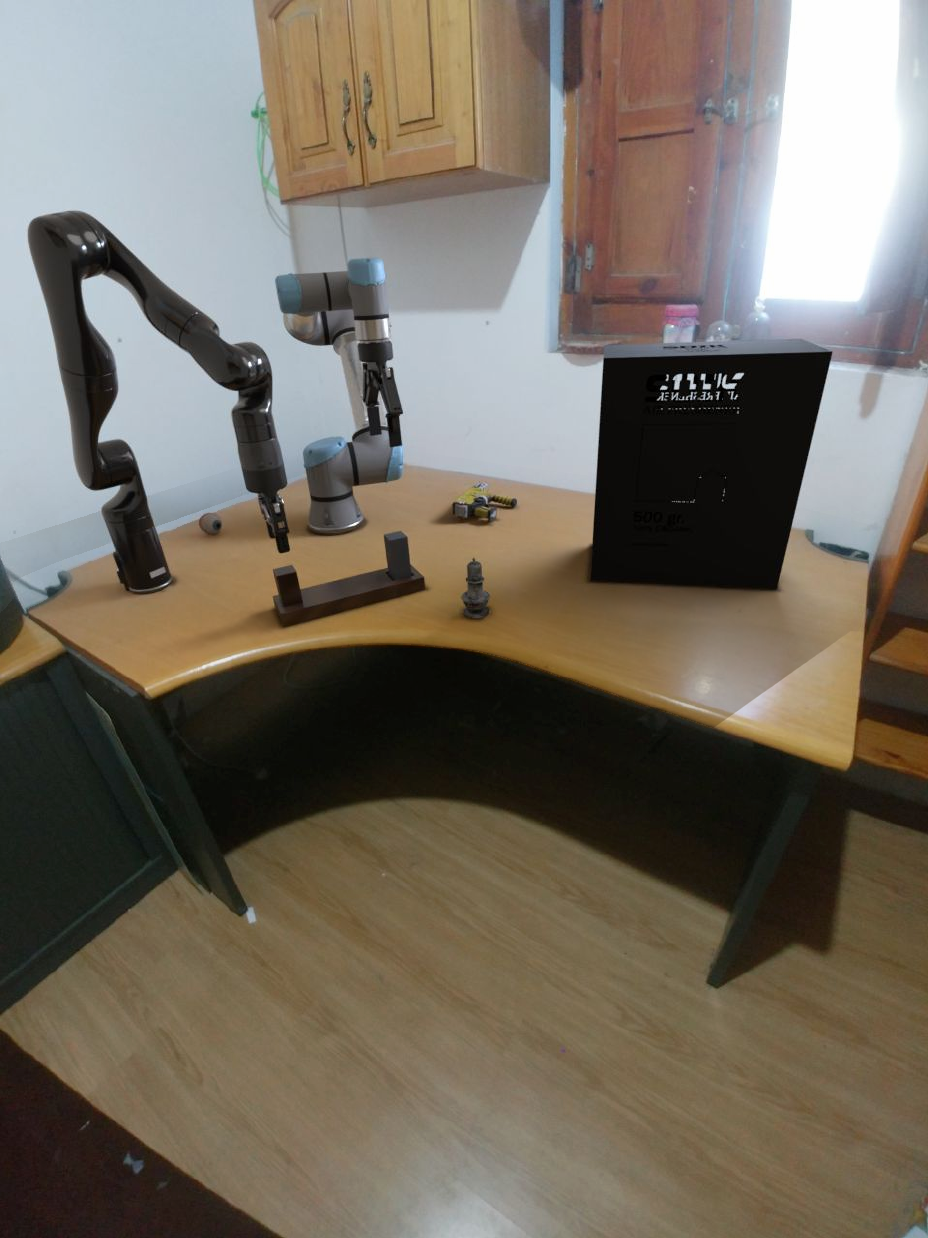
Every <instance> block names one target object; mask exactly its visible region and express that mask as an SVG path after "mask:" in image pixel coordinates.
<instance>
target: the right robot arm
mask: <svg viewBox="0 0 928 1238" xmlns="http://www.w3.org/2000/svg"><path fill="white" fill-rule="evenodd" d="M346 265H347V270H341V271H325V272H308V273H307V272H306V273H292V272H290V273H287V274H279V275H277V276H276V277H275V279H274V283H275V290H276V296H277V301H278V306H279V310H280V312H281V313H282V321H283V325H284V328H285V329H286V331H287V333H288V334H289V335H290V336H291V337H292V338H293V339H295V340H297V341H299V342H300V343H303V344H307V345H310V346H318V347H322V346H323V347H325V346H326V347H327V346H332V349H333V351H334V353H335V354H336V355H338V356H340V360H341V366H342V371H343V374H344V380H345V384H346V389H347V395H348V398H349V404H350V408H351V414H352V418H353V423H354V428H355V431H354V432H353V433H352V435H351V441H347V440H346V438H345V437H343V436H329V437H325V438H321V439H317V440H315V441H313V442H310V443H309V444H308V445H306V446H305V447H304V448H303V450H302V457H303V468H304V469H305V474H306V475H305V476H306V480H307V486H308V492H309V498H310V507H309V513H308V521H307V524H308V528H309V529H308V530H310V531H311V532H312V533H314V534H317V535H323V536H324V535H325V536H327V535H329V536H331V535H339V534H340V535H341V534H345V533H350V532H353V531H355V530H357V529H359V528H361V527H362V526H363V525H364V523H365V519H364V514H363V512H362V510H361V508H360V505H359V504H358V501H357V500H356V498H355V495H354V489H353V487H358V486H359V487H361V486H367V485H375V484H376V485H377V484H382V483H386V484H387V483H389V482H395V481H399V480H401V478H402V476H403V473H404V446H403V439H402V430H401V429H402V428H401V420H400V416H401V415H403V414H404V409H403V406H402V402H401V397H400V394H399V391H398V385H397V382H396V379H395V378H396V377H395V369H394V367H393V366H390V367H388V364H387V362H389V361H392V360H393V359H394V349H393V342H392V341H391V340H389V339H391V338H392V334H391V328H392V327H393V324H392V322H391V321H390V312H389V303H388V293H387V281H386V279H387V275H386V273H385V266H384V261H383V259H381V258H380V257H361V258H351V259H349V260H348V261H347V264H346ZM383 405H384V407H383ZM384 408H385V411H386V413H385V411H384Z"/></svg>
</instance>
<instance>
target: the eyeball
mask: <svg viewBox="0 0 928 1238" xmlns="http://www.w3.org/2000/svg"><path fill="white" fill-rule="evenodd" d="M198 526H199V528H200V530H201V531H202V532H203V533H204V534H206V535H212V536H214V535H216V534H218V533H220V532H221V531H222V529H223V520H222V518H221V517H220V515H218V514H217V513H214V512H206V513H203V515H201V516H200V517H199V520H198Z"/></svg>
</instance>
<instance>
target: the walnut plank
mask: <svg viewBox="0 0 928 1238" xmlns="http://www.w3.org/2000/svg"><path fill="white" fill-rule="evenodd" d="M410 565H411V575H412V576H410V577H406V578H402V579H398V580H394V581H393V580H392V579H391V578H390V577H389V574H388V567H384V568H380V569H376V570H372V571H368V572H364V573H360V574H357V575H352V576H348V577H344V578H341V579H336V580H333V581H327V582H324V583H320V584H316V585H312V586H308V587H303V588H301V586H300V581H299V577H298V572H297V570H296V568H295V567H294V565H293V564H289V565H285V566H284V565H283V566H280V567H275V568H272V573H273V577H274V581H275V586H276V590H277V594H275V595H272V600H273V604H274V608H275V610H276V612H277V613H276V614H277V615H278V617H279V619H280V621H281V623H282V625H283V627H289V626H293V625H296V624H300V623H303V622H307V621H311V620H315V619H318V618H322V617H326V616H331V615H335V614H337V613H341V612H344V611H348V610H352V609H356V608H360V607H363V606H367V605H370V604H375V603H379V602H383V601H387V600H390V599H394V598H397V597H400V596H404V595H408V594H412V593H416V592H419V591H424V590H426V582H425V576H424V575H423V574H422V573H420V572H419V570H418V569H416V567H414V566H413V565H412V564H411V563H410Z"/></svg>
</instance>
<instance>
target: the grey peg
mask: <svg viewBox="0 0 928 1238" xmlns="http://www.w3.org/2000/svg"><path fill="white" fill-rule="evenodd" d="M383 541H384V550H385V557H386V564H387V568H388V574H389V577H390V578H391V579H392V580H393V581H394V580H398V579H402V578H406V577H410V576H412V575H411V565H412V564H411V557H410V556H411V555H410V548H409V538H408V535H406V534H405V533H404V532H403V530H398V531H393V532H389V533H385V534H383ZM410 564H411V565H410Z"/></svg>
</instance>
